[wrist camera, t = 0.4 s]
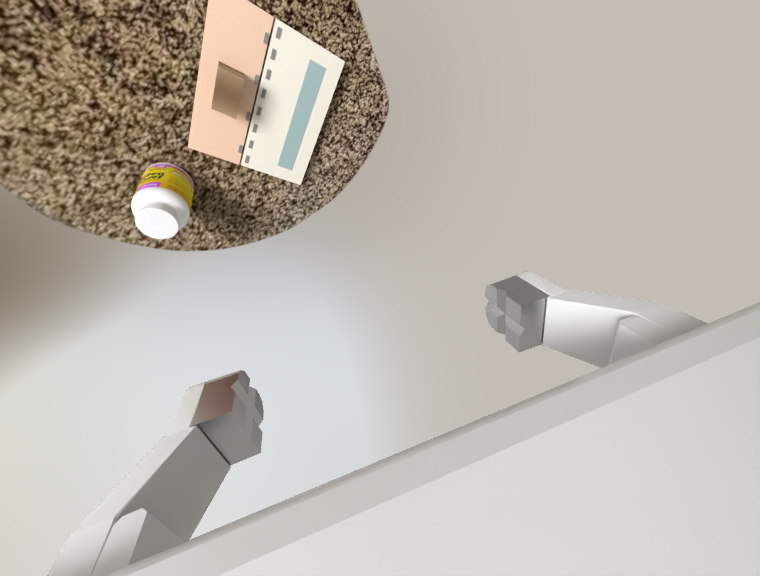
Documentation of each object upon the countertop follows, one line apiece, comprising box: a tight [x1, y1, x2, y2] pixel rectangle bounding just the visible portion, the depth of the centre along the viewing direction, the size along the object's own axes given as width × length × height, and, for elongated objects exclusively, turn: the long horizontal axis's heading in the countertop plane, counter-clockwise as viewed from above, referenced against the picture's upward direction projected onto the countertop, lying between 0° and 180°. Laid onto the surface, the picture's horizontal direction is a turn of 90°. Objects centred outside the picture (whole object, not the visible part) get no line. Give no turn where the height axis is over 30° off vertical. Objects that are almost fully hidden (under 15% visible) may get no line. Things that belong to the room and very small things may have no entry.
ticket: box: [240, 18, 345, 185], centre depth 46 cm, size 20×10×2 cm, turn 150°
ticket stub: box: [188, 0, 274, 164], centre depth 40 cm, size 20×7×6 cm, turn 150°
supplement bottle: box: [131, 163, 194, 239], centre depth 44 cm, size 7×7×13 cm
